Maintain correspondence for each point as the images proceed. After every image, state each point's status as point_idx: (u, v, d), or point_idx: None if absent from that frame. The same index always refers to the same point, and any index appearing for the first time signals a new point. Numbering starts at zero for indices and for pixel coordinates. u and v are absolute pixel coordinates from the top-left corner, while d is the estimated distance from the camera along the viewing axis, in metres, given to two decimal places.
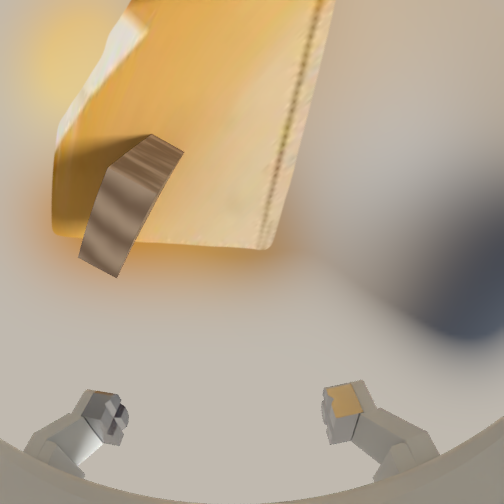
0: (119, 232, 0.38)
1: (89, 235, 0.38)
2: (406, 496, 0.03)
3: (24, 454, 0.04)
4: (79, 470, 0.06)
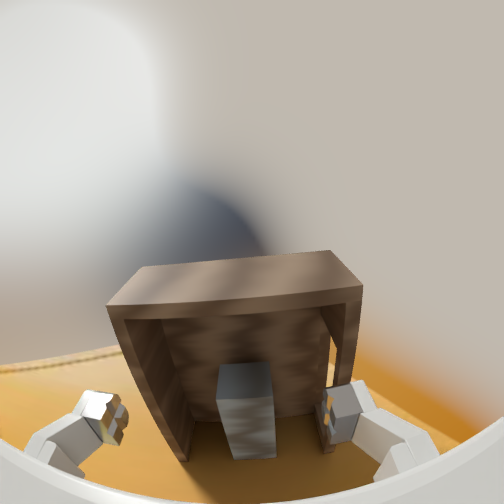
0: (228, 269, 0.23)
1: (276, 288, 0.18)
2: (406, 496, 0.03)
3: (24, 454, 0.04)
4: (79, 470, 0.06)
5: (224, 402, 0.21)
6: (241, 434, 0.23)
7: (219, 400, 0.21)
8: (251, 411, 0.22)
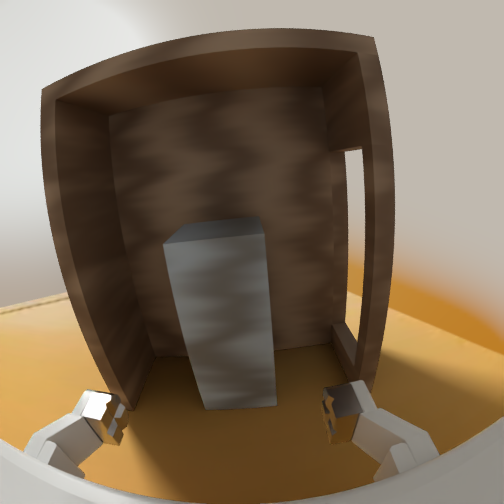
0: None
1: None
2: (406, 496, 0.03)
3: (24, 454, 0.04)
4: (79, 470, 0.06)
5: (177, 250, 0.13)
6: (213, 342, 0.15)
7: (169, 246, 0.13)
8: (226, 277, 0.14)
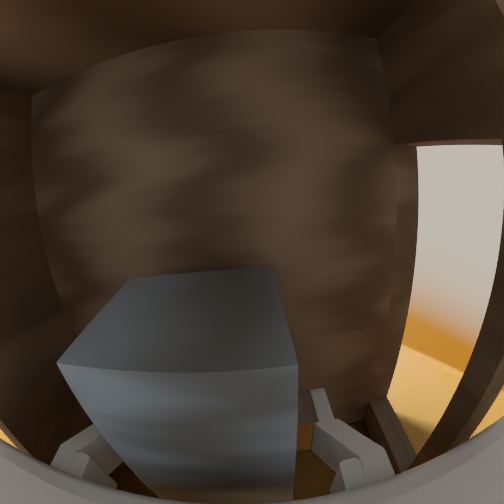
0: None
1: None
2: (406, 496, 0.03)
3: (24, 454, 0.04)
4: (111, 480, 0.06)
5: (85, 379, 0.04)
6: (190, 490, 0.06)
7: (69, 369, 0.04)
8: (203, 436, 0.05)
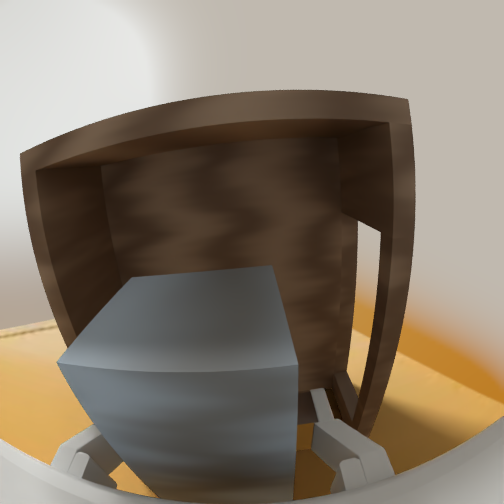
0: None
1: None
2: (406, 496, 0.03)
3: (24, 454, 0.04)
4: (112, 480, 0.06)
5: (85, 379, 0.04)
6: (190, 490, 0.06)
7: (69, 368, 0.04)
8: (202, 435, 0.05)
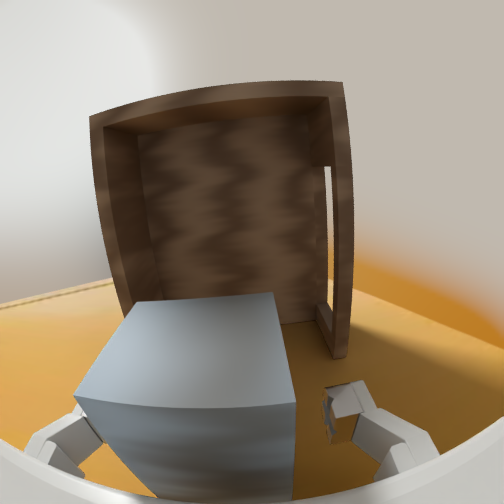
0: None
1: None
2: (406, 496, 0.03)
3: (24, 454, 0.04)
4: (79, 470, 0.06)
5: (101, 410, 0.05)
6: (196, 499, 0.06)
7: (86, 400, 0.05)
8: (210, 456, 0.05)
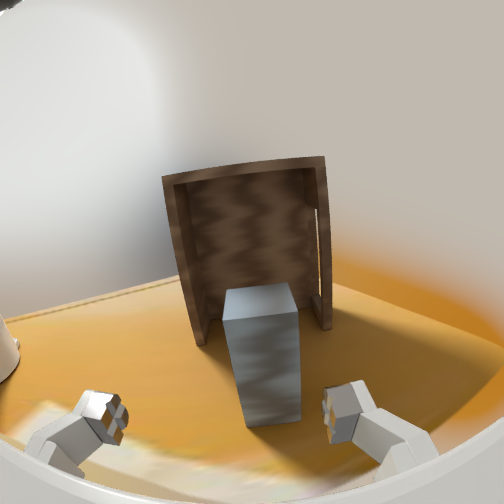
0: None
1: None
2: (406, 496, 0.03)
3: (24, 454, 0.04)
4: (79, 470, 0.06)
5: (233, 324, 0.18)
6: (257, 381, 0.19)
7: (227, 321, 0.18)
8: (270, 340, 0.18)
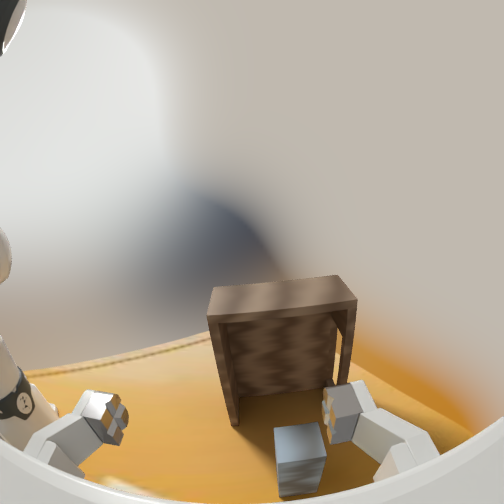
0: (277, 289, 0.37)
1: (309, 301, 0.32)
2: (406, 496, 0.03)
3: (24, 454, 0.04)
4: (79, 470, 0.06)
5: (284, 463, 0.21)
6: (292, 481, 0.22)
7: (280, 463, 0.21)
8: (305, 467, 0.21)
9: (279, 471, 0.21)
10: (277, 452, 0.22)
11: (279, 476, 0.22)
